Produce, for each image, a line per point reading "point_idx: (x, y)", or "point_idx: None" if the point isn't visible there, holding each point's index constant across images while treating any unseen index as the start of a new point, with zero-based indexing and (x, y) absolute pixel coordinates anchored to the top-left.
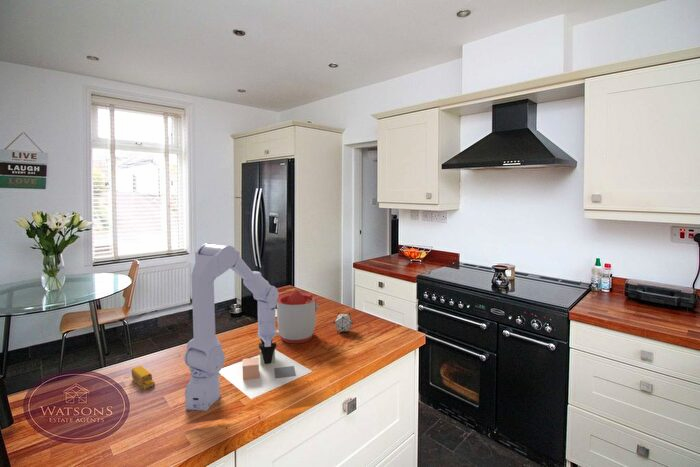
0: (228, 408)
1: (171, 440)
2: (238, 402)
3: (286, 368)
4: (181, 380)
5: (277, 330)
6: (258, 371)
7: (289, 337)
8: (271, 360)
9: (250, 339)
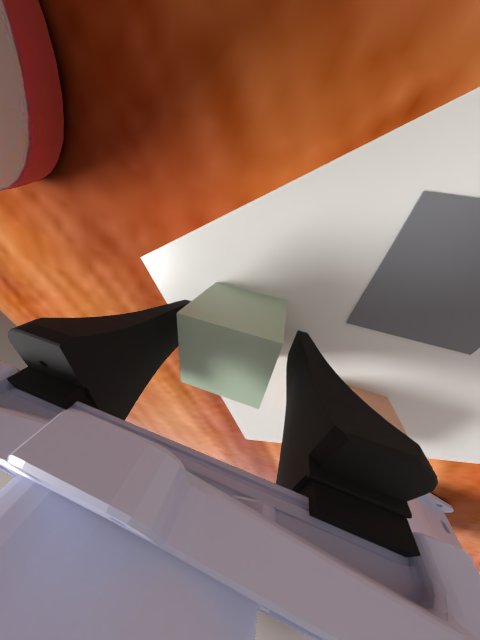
0: (471, 484)
1: (476, 548)
2: (467, 464)
3: (412, 261)
4: (248, 465)
5: (29, 472)
6: (401, 429)
7: (4, 114)
8: (312, 341)
9: (59, 309)
